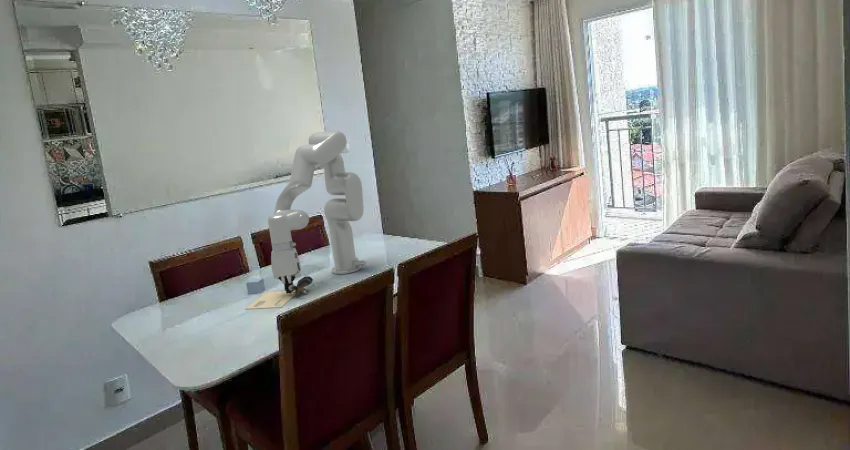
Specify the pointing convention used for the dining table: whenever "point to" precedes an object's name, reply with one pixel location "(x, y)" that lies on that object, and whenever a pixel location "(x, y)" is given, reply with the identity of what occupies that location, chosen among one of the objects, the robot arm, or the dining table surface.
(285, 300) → the letter
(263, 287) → the blue block
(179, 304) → the dining table surface
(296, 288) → the squirrel figurine
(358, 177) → the robot arm
